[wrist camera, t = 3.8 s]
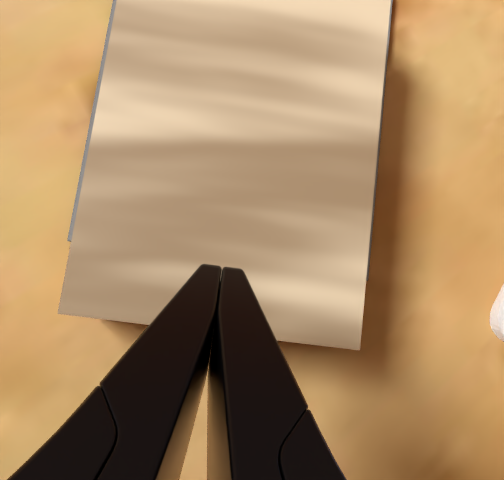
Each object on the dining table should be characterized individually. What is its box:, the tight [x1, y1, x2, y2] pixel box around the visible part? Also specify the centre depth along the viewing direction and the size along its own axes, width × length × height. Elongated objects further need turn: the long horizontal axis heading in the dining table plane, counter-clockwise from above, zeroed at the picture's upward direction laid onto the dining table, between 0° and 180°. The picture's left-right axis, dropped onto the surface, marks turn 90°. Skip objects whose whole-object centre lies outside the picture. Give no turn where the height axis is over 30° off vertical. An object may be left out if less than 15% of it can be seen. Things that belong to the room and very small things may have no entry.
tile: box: [58, 0, 391, 350], centre depth 14 cm, size 2×9×12 cm
